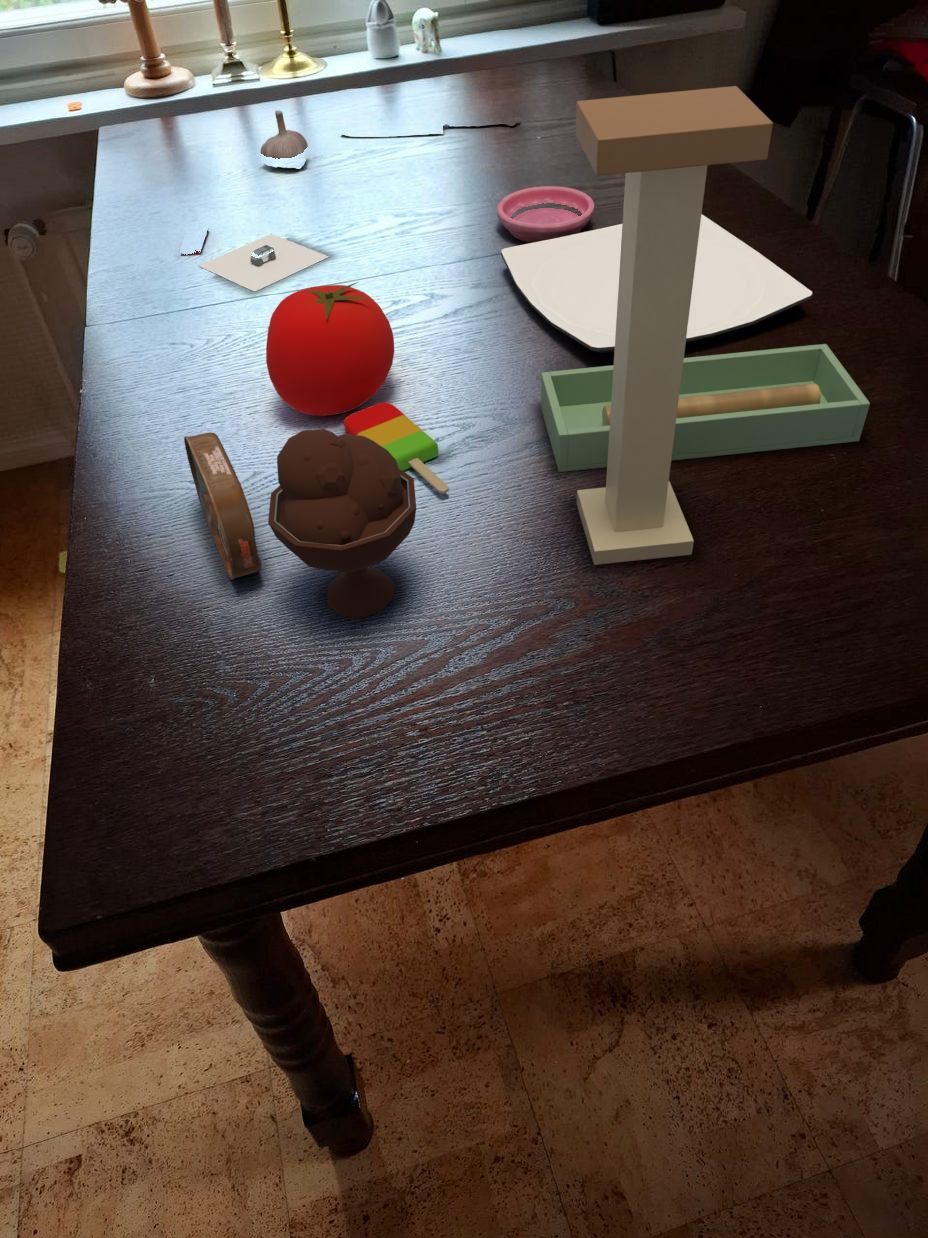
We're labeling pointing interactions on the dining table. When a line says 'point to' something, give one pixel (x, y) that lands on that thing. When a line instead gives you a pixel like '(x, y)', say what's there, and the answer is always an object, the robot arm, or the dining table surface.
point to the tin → (223, 504)
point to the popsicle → (397, 439)
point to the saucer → (545, 213)
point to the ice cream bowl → (343, 513)
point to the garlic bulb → (284, 142)
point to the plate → (589, 279)
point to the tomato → (328, 349)
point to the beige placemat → (263, 262)
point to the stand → (655, 295)
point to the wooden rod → (741, 401)
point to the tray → (837, 419)
